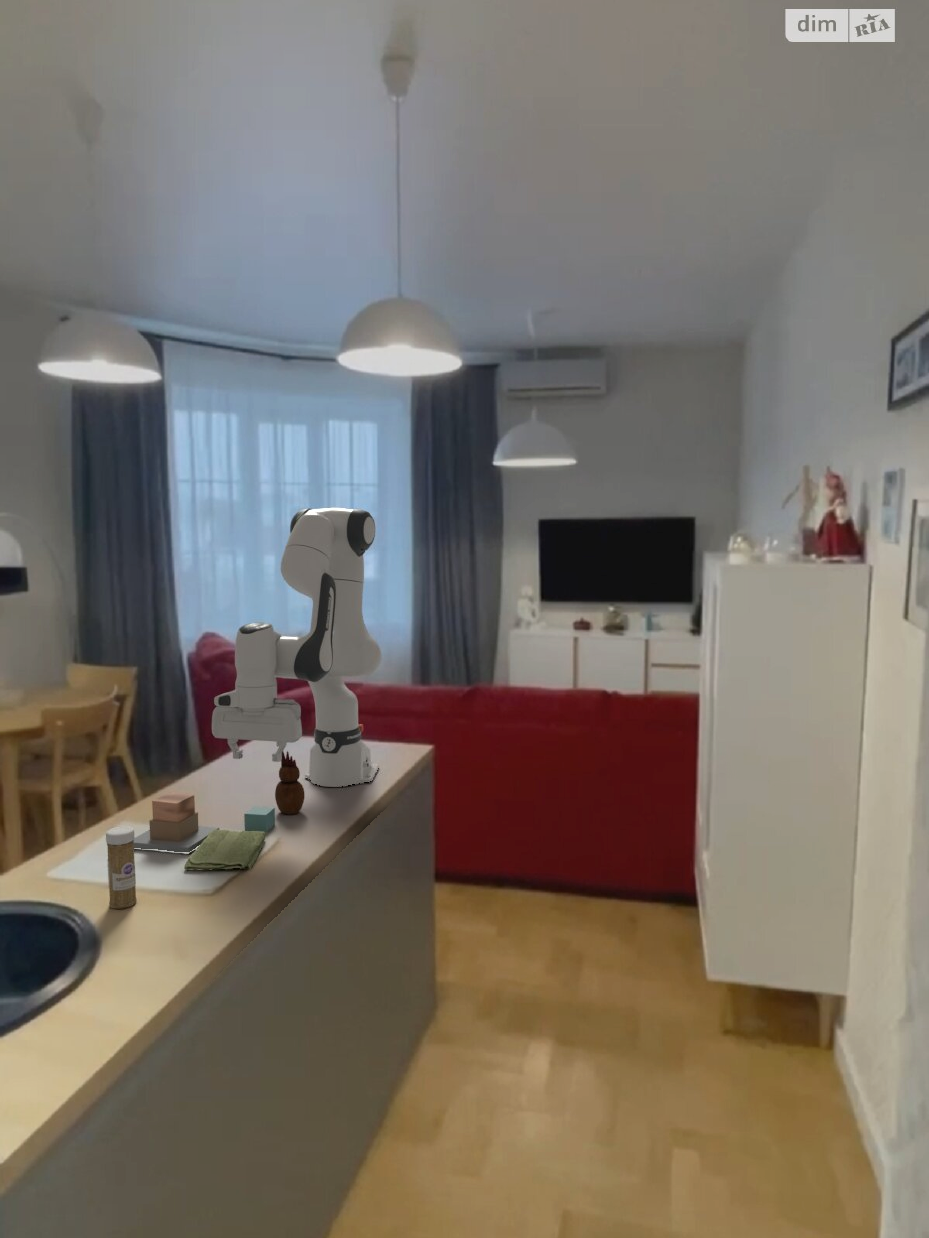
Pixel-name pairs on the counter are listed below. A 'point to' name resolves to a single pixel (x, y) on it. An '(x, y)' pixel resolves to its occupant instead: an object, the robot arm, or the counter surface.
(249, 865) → the washcloth
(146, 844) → the baseplate
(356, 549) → the robot arm
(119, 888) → the sprinkles bottle
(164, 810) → the brick
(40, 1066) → the counter surface
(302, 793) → the wooden figurine
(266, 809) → the brick
